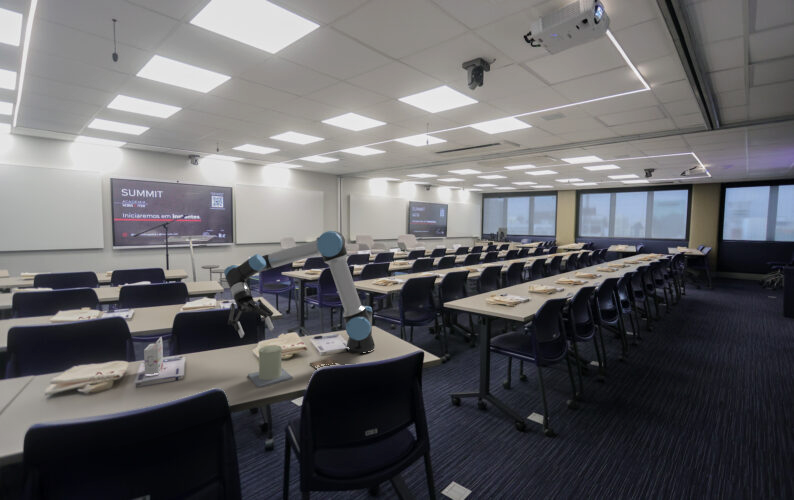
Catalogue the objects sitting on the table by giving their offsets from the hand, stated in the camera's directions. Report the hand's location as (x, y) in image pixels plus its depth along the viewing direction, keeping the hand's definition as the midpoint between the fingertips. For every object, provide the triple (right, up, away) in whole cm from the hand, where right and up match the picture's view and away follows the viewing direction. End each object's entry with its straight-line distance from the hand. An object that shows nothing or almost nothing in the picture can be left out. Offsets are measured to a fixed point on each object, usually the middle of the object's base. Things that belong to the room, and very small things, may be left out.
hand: (257, 332), depth 152 cm
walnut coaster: (+28, -17, +8) cm, 34 cm away
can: (+8, -17, -6) cm, 19 cm away
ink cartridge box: (-43, -17, -4) cm, 47 cm away
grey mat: (+8, -18, -6) cm, 20 cm away
